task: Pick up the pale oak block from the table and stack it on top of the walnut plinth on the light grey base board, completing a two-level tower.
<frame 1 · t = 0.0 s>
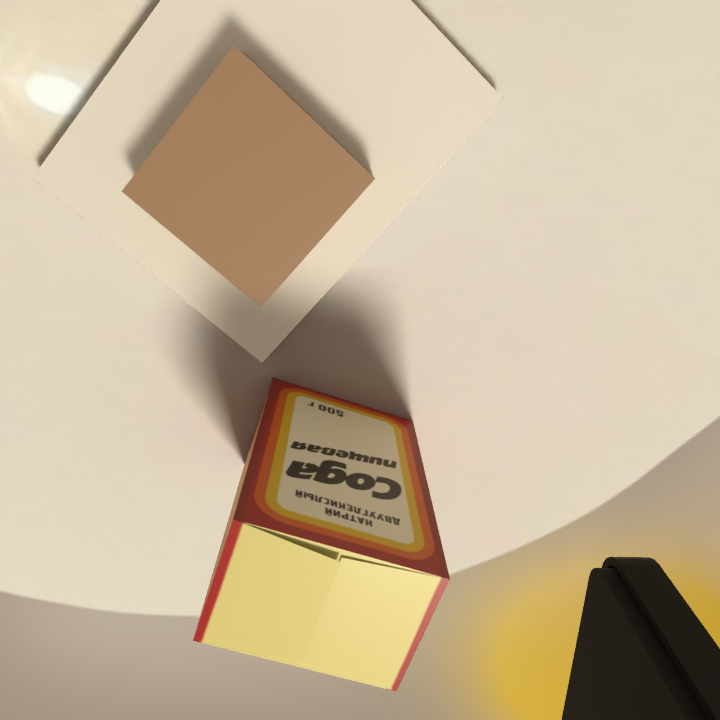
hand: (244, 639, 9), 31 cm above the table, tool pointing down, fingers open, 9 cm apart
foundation: (268, 138, 36), on the table
baking soda box: (328, 441, 43), on the table
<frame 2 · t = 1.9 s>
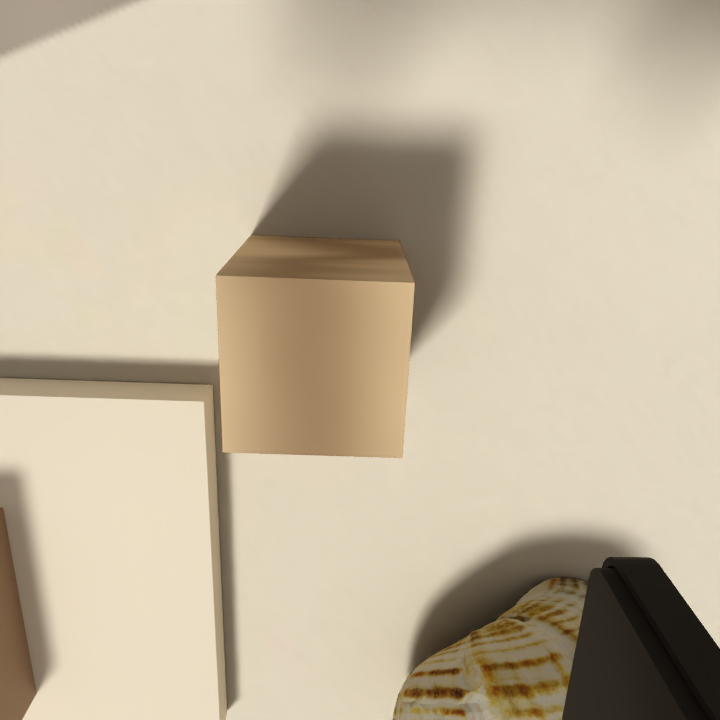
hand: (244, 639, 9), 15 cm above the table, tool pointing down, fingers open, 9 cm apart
seashell: (501, 659, 29), on the table
oak block: (323, 308, 23), on the table
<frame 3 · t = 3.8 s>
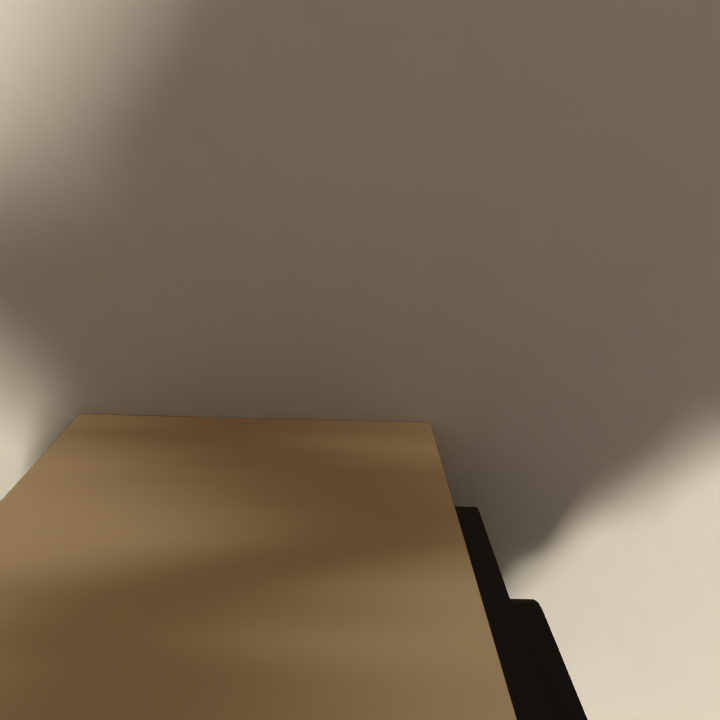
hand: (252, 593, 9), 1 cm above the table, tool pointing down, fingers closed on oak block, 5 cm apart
oak block: (259, 563, 10), on the table, touching gripper
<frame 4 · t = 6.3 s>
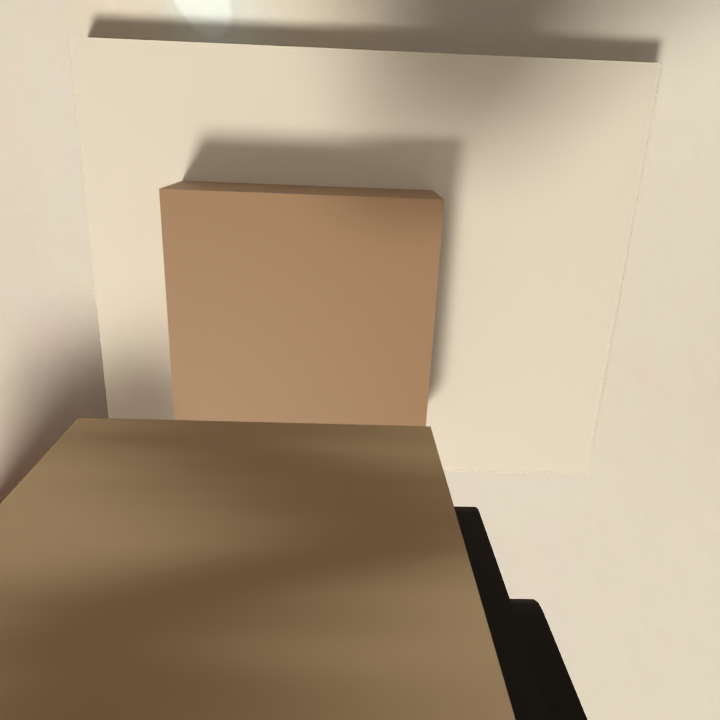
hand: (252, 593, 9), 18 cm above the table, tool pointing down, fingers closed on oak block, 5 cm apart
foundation: (359, 274, 26), on the table
oak block: (258, 567, 10), point 17 cm above the table, touching gripper
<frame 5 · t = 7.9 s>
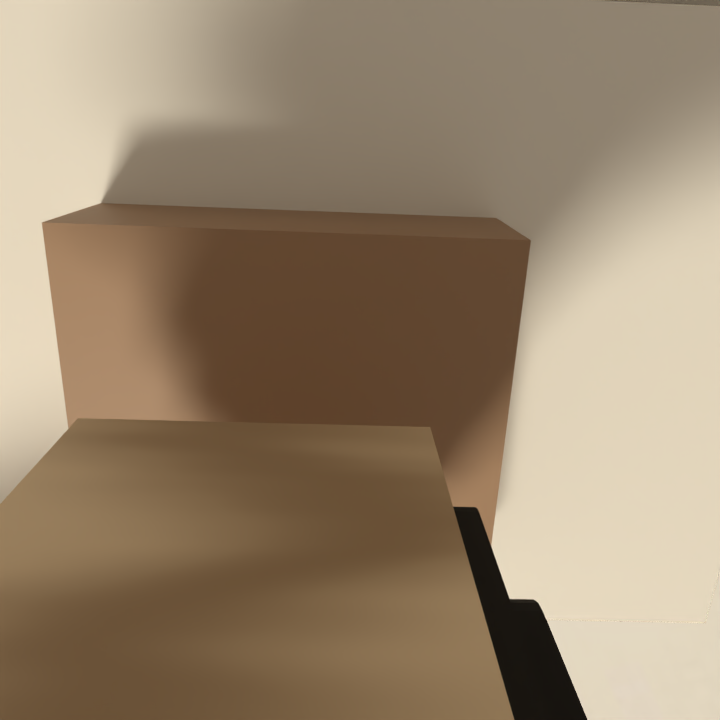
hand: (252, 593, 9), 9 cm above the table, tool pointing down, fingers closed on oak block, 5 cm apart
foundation: (377, 338, 17), on the table
oak block: (258, 568, 10), point 8 cm above the table, touching gripper
when the fingers open (6 cm above the table, at t = 8.9 s): oak block stays where it is, resting on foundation.
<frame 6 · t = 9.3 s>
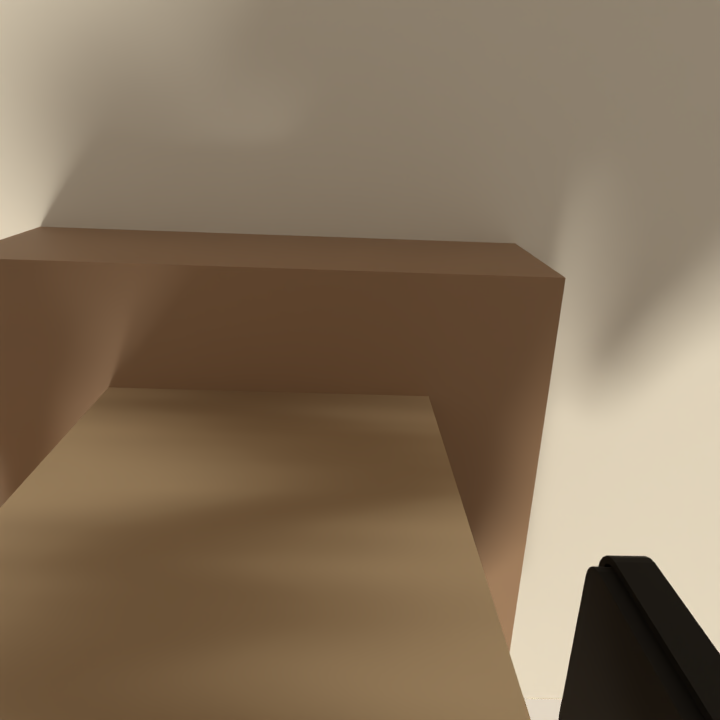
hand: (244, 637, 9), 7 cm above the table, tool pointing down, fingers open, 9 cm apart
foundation: (373, 379, 15), on the table
oak block: (270, 527, 11), point 4 cm above the table, touching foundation
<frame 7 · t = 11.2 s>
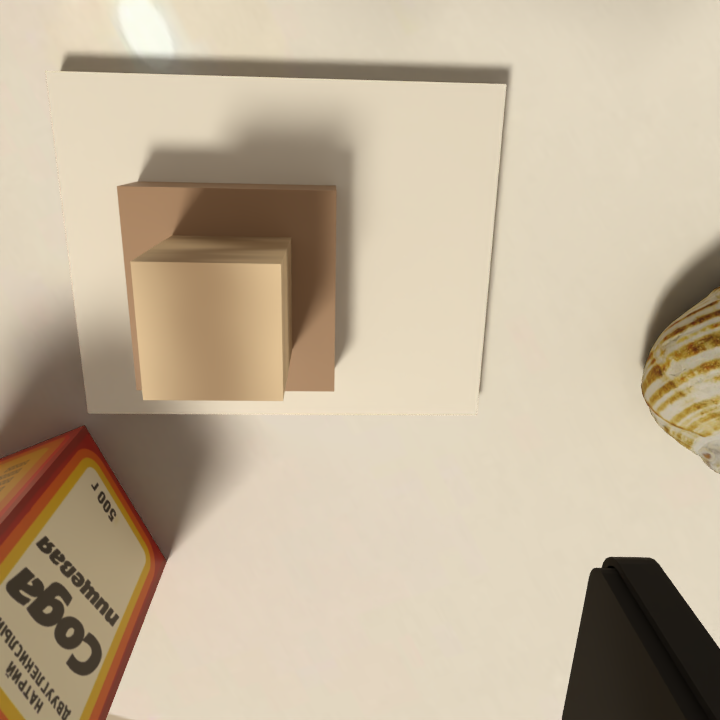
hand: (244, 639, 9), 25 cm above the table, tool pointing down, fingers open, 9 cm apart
seashell: (714, 346, 35), on the table
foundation: (284, 254, 32), on the table
oak block: (234, 294, 28), point 4 cm above the table, touching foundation
baking soda box: (76, 514, 37), on the table
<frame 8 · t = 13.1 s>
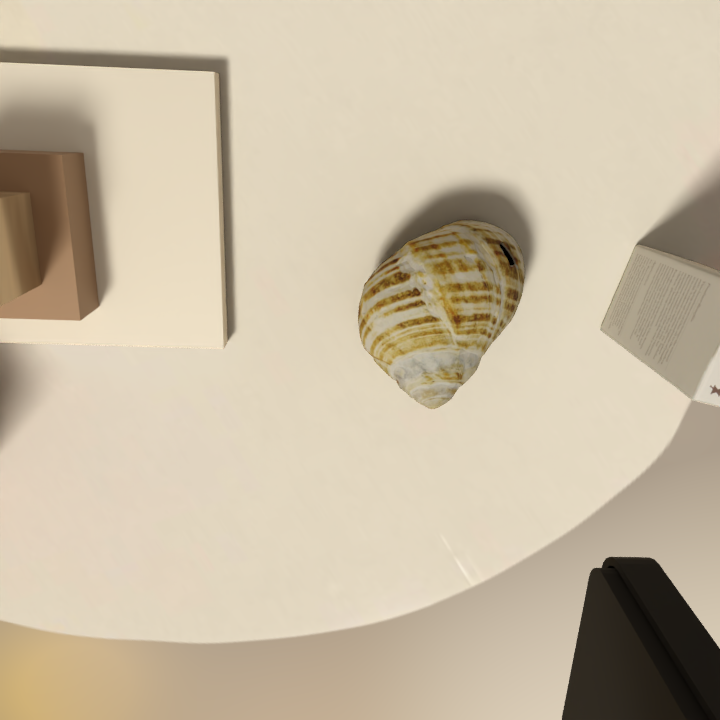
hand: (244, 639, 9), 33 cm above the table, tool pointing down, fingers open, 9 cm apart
skincare box: (644, 294, 42), on the table
seashell: (435, 296, 42), on the table
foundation: (57, 210, 39), on the table
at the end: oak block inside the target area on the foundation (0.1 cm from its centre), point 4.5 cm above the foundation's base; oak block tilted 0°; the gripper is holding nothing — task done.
